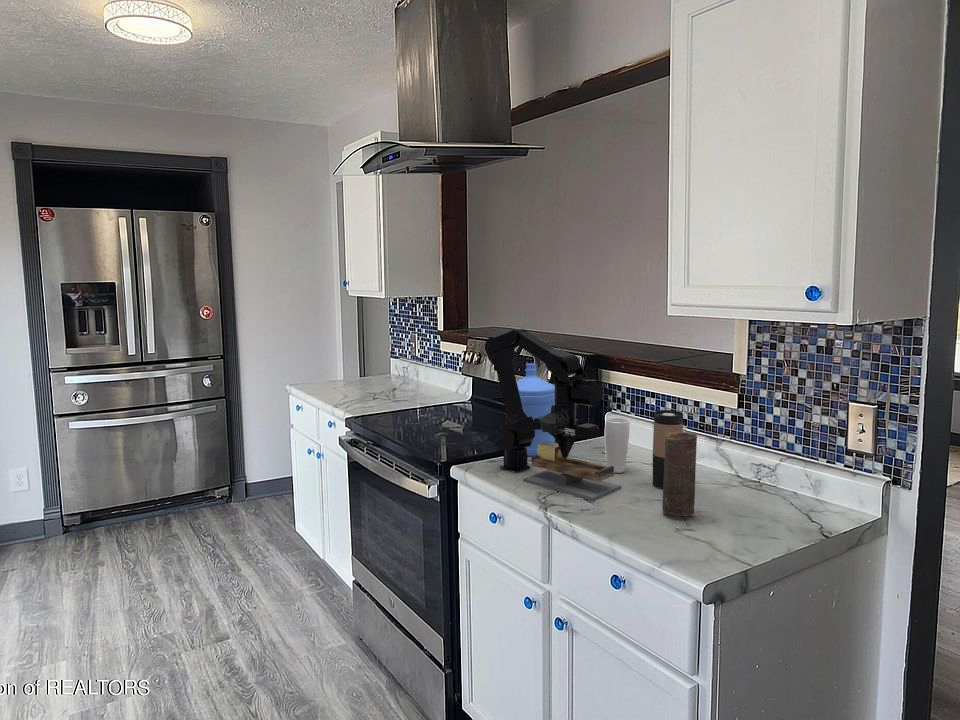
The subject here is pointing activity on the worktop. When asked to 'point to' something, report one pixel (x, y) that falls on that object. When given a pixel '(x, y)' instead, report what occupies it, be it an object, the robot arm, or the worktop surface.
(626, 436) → the drinking glass
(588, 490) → the stand
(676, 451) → the candle
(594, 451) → the worktop surface
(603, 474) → the beam
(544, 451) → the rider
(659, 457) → the travel mug
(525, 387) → the water jug
